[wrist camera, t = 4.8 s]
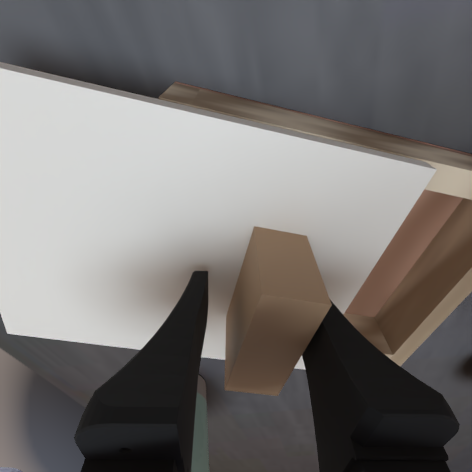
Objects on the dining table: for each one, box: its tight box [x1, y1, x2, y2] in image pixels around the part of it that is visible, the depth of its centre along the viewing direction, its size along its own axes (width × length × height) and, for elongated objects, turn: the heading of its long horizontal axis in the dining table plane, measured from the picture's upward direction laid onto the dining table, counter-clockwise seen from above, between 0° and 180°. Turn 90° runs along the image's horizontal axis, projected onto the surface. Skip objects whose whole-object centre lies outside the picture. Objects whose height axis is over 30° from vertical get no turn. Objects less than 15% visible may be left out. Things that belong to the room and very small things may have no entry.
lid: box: [0, 62, 437, 396], centre depth 13 cm, size 18×14×5 cm
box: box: [158, 82, 472, 366], centre depth 18 cm, size 18×14×4 cm
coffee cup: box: [191, 375, 209, 472], centre depth 25 cm, size 8×9×12 cm
